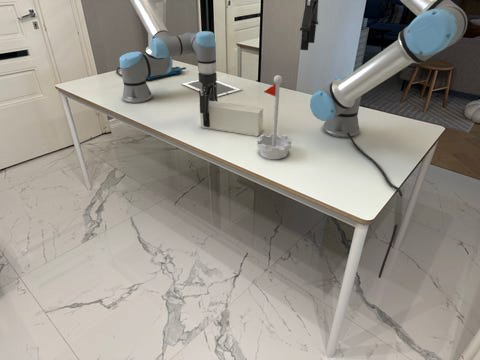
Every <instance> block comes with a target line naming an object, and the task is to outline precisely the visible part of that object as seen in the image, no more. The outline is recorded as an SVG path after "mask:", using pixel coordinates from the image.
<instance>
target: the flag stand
mask: <svg viewBox="0 0 480 360" xmlns="http://www.w3.org/2000/svg"><path fill="white" fill-rule="evenodd" d="M273 82H274V84H273V85H272V86H269V88H267V89H265V90H263V93H264V94H265V93H266V94H268V95H270V96H273V97H274V104H273V105H274V106H273V121H272V122H273V123H272V132H270V133H269V135H267V134H265V133H263V134H261V135H260V134H259V138H257V140H256V147H257V148H258V149H259V155H261V156H262V157H263V158H265V159H268V160H280V159H283V158H286V157H287V156H288V153H289V151H290V150H291V148H292V139H291V138H289V137H288V135H287V134H284V133H282V134H281V135H278V118H279V104H280V91H281V89H280V87H281V83H283V77H282V76H281V75H279V74H278V75H275V76H274V77H273Z"/></svg>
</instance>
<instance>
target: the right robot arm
mask: <svg viewBox="0 0 480 360" xmlns="http://www.w3.org/2000/svg"><path fill="white" fill-rule="evenodd" d="M399 1H400V2H401V3H402V4H403V5H405V6H406V7H407V8H408V9H409V10H410V11H411V12H412V13H413V14H414V15H415V16H416V17H415V18H413V20H412V21H411V22H410V24H409V25H408V26H406V27H405V28H403V29H402V30H401V31H400V32H399V33H398V37H397V40H395V41H393V43H391V44H390V45H388V46H387V47H386V48H385V49H383V50H382V51H381V52H379V53H377V54H376V55H375V56H373V57H372V58H371V59H369V60H367V62H365V63H364V64H362V65H361V66H360V67H358V68H356V69H355V70H354V71H353V72H351V73H350V74H349V75H347V76H336V77H335V78H334V80H333V81H332V82H331V83H329V84H328V85H326V86H325V87H324V88H322V89H321V90H317V91H316V92H314V93H313V94H312V95H311V97H310V100H309V108H310V111H311V114H312V115H313V116H314V117H315V118H316V119H317V120H319V121H322V122H324V123H323V126H322V130H323V132H324V133H325V134H326V135H329V136H332V137H335V138H339V139H341V138H342V139H349V140H350V141H351V143H352V145H353V146H354V147H355V148H356V150H358V151H359V153H361V154H362V155H363V156H364V157H366V158H367V159H368V160H369V161H370V162H372V163H373V164H374V166H376V168H377V169H378V170H379V172H380V173H381V175H382V176H383V178H384V180H385V182H386V183H387V184H388V186H389V187H391V188H392V189H394V190H396V191H397V192H398V195H399V196H400V197H403V193H402V190H401V189H400V188H399V187H398V186H396V185H394V184H392V183H391V181H390V179H389V178H388V176H387V174H386V173H385V171H384V170H383V168H381V167H382V166H380V165H379V164H378V162H376V161H375V160H374V158H372V157H370V156H369V155H368V154H367V153H365V152H364V151H363V150H362V149H361V148H360V147H359V146H358V145H357V143H356V142H355V140H354V139H353V138H354V137H356V136H357V135H359V132H360V125H359V118H358V117H359V116H358V114H359V111H360V110H359V109H360V105H361V101H362V96H363V95H365V94H366V93H368V92H370V91H371V90H372V89H374V88H376V87H377V86H378V85H380V84H381V83H383V82H384V81H386V80H388V79H390V78H391V77H393V76H394V75H396V74H398V73H399V72H400V71H402V70H403V69H405V68H407V67H408V66H410V65H412V64H417V65H419V64H422V63H424V62H426V61H427V60H429V59H430V58H431V57H433V56H434V55H435V56H436V54H439V53H440V52H442V51H443V50H445V49H446V48H449V47H451V46H453V45H454V44H456V43H457V42H459V41H460V40H461V39H462V37H463V36H464V35H465V33H466V31H467V28H468V17H467V14H466V12H465V11H464V10H463V9H462V8H461V7H460V6H458V5H457V4H456V3H454V2H453V1H452V0H399ZM304 2H305V3H304V9H303V16H302V21H301V26H300V27H299V31H300V32H301V37H300V38H301V39H300V48H299V49H300V51H309V45H310V44H315V39H316V31H317V26H318V25H319V20H318V18H319V17H318V15H319V14H318V13H319V12H318V11H319V0H304ZM398 225H399V224H394V227H393V231H392V234H391V238H390V240H389V244H388V246H387V249H386V253H385V255H384V258H383V261H382V264H381V267H380V270H379V273H378V275H377V276H378V279H381V277H382V274H383V271H384V268H385V265H386V262H387V260H388V257H389V255H390V252H391V248H392V246H393V243H394V240H395V237H396V232H397V230H398V229H397V228H398Z"/></svg>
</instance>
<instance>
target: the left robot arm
mask: <svg viewBox="0 0 480 360" xmlns="http://www.w3.org/2000/svg"><path fill="white" fill-rule="evenodd" d="M129 1H130V3H131V5H132V7H133V8H134V10H135V12H136V14H137V15H138V17H139V19H140V21H141V23H142V25H143V27H144V28H145V30H146V32H147V37H148V38H147V39H148V41H147V42H148V43H147V44H148V46H147V47H146V48H145V53H142V52H141V51H131V52H127V53H125V54H122V55H121V56H120V57H119V66H118V67H116V71H115V72H116V74H117V75H118V76H119V77H122V82H123V90H122V100H123V101H124V102H125V103H128V104H140V103H145V102H148V101H150V100H151V99H153V95H152V92H151V90H150V88H149V85H148V84H147V79H146V77H151V76H157V75H164V74H167V73H169V72H170V71H171V69H172V67H173V63H174V62H173V57H177V56H178V57H179V56H184V55H190V54H194V55H196V56H197V57H196V58H197V64H196V65H197V70H198V80H199V82H200V83H202V90H199V92H198V94H199V114H200V113H203V125H204V126H205V127H210V121H209V113H208V106H209V101H217V102H219V101H218V97H217V82H216V81H218V80H217V79H218V78H217V77H218V76H217V49H216V48H217V47H216V46H217V45H216V44H217V43H216V36H215V33H214V32H212V31H207V30H204V31H202V30H201V31H197V32H196V33H194V32H185V33H183V34H180V35H172V36H171V34H170V32H169V31H168V29H167V0H129ZM119 70H120V72H121V73H120V72H118V71H119Z"/></svg>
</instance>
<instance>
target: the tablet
mask: <svg viewBox="0 0 480 360" xmlns="http://www.w3.org/2000/svg"><path fill="white" fill-rule="evenodd" d="M216 82H217V98H219V97H222V96H226V95H230V94H234V93H236V92H237V93H238V92H240V91H242V89H241V88H239V87H235V86H233V85H231V84H228V83H225V82H222V81H219V80H217V81H216ZM181 85H182V86H185V87H187V88H189V89H192V90H194V91H195V92H198V93H199V90H202V83H200V82H199V79H197V80H192V81H188V82H184V83H181Z"/></svg>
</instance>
